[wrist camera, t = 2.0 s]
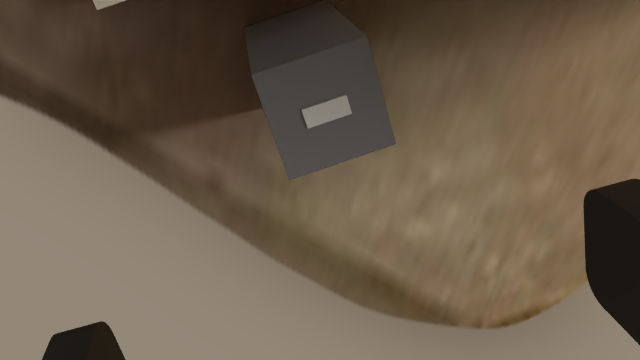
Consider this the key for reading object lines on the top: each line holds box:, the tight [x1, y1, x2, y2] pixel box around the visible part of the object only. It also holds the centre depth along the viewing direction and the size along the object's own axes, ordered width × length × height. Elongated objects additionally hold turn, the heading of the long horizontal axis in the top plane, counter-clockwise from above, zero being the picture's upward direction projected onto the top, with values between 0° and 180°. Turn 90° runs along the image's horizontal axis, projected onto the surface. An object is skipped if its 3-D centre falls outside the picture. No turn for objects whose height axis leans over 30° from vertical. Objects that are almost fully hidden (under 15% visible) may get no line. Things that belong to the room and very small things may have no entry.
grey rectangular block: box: [244, 0, 396, 180], centre depth 24 cm, size 4×4×9 cm
